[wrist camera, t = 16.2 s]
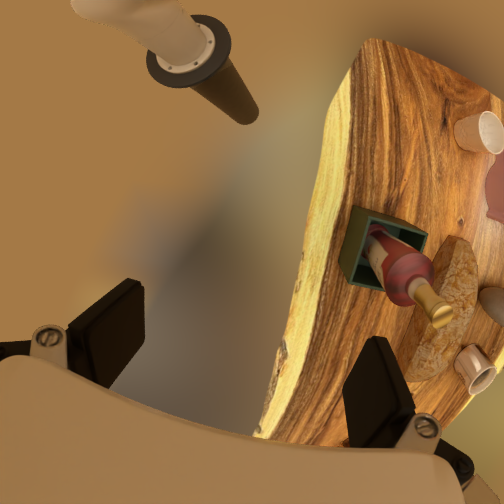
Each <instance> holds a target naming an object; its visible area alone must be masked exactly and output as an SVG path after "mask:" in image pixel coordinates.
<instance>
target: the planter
mask: <svg viewBox="0 0 504 504" xmlns="http://www.w3.org/2000/svg"><path fill="white" fill-rule="evenodd" d="M479 300H480V303H481V305H482V307H483V309H484V310H485V311H486V313H487V314H488V315H489V316H490V317H491V318H492V319H493V320H494V321H495V322H497V323H498V324H500V325H501V326H503V327H504V289H502V288H498V287H487V288H484V289H483V290H482V291H481V292H480V294H479Z"/></svg>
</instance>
